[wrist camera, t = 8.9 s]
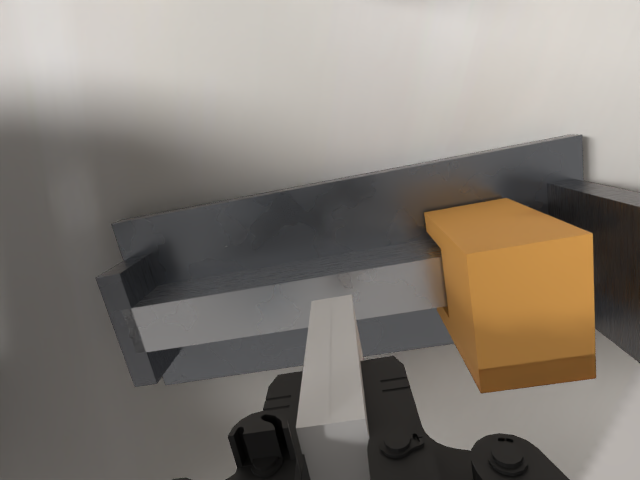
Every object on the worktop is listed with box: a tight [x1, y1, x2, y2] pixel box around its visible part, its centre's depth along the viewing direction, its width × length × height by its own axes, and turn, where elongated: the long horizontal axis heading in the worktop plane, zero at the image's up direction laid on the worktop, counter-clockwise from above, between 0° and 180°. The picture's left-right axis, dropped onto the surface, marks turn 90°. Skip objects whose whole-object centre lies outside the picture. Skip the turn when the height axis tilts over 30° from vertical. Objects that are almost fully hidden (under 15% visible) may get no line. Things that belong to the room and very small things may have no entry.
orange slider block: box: [424, 198, 596, 393], centre depth 17 cm, size 4×5×7 cm
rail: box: [96, 135, 640, 387], centre depth 18 cm, size 24×10×8 cm, turn 101°
